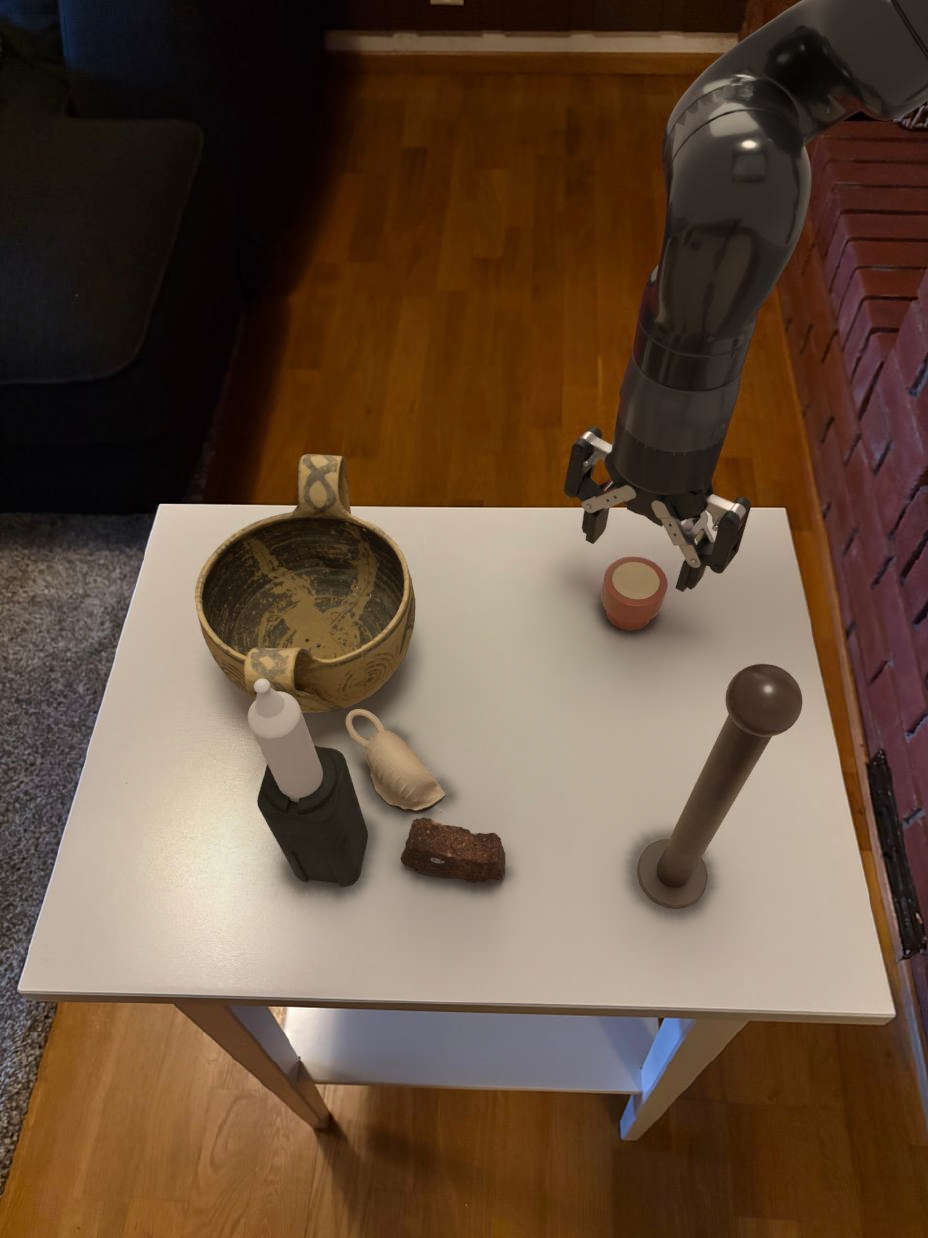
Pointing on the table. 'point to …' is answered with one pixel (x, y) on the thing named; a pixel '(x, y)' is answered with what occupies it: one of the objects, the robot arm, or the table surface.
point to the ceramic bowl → (309, 598)
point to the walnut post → (720, 782)
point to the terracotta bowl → (633, 592)
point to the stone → (453, 852)
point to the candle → (306, 793)
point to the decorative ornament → (396, 767)
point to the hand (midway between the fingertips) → (638, 559)
